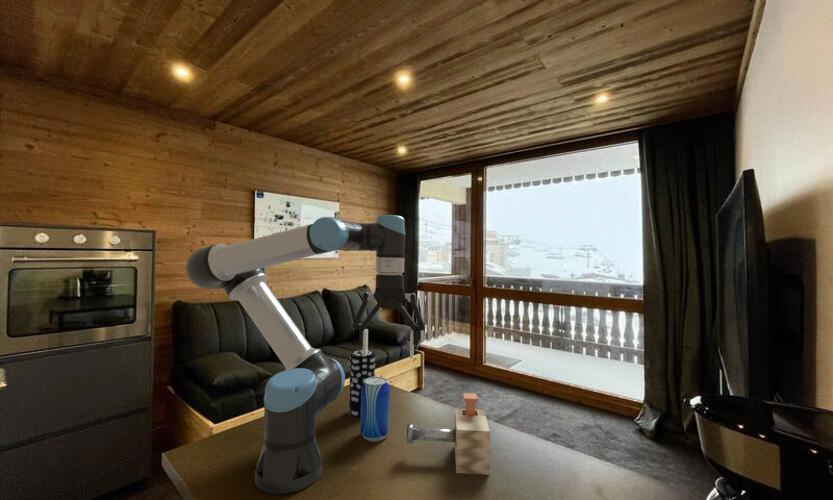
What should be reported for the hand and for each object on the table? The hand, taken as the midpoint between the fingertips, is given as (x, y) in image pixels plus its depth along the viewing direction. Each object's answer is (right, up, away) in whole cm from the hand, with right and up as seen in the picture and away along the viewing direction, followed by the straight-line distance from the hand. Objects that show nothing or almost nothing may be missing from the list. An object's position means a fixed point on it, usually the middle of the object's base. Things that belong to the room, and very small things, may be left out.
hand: (388, 355), depth 95 cm
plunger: (+22, -19, +2) cm, 29 cm away
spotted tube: (-11, -26, +24) cm, 38 cm away
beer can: (-5, -26, +10) cm, 29 cm away
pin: (+13, -23, -1) cm, 26 cm away
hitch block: (+22, -26, -2) cm, 34 cm away
